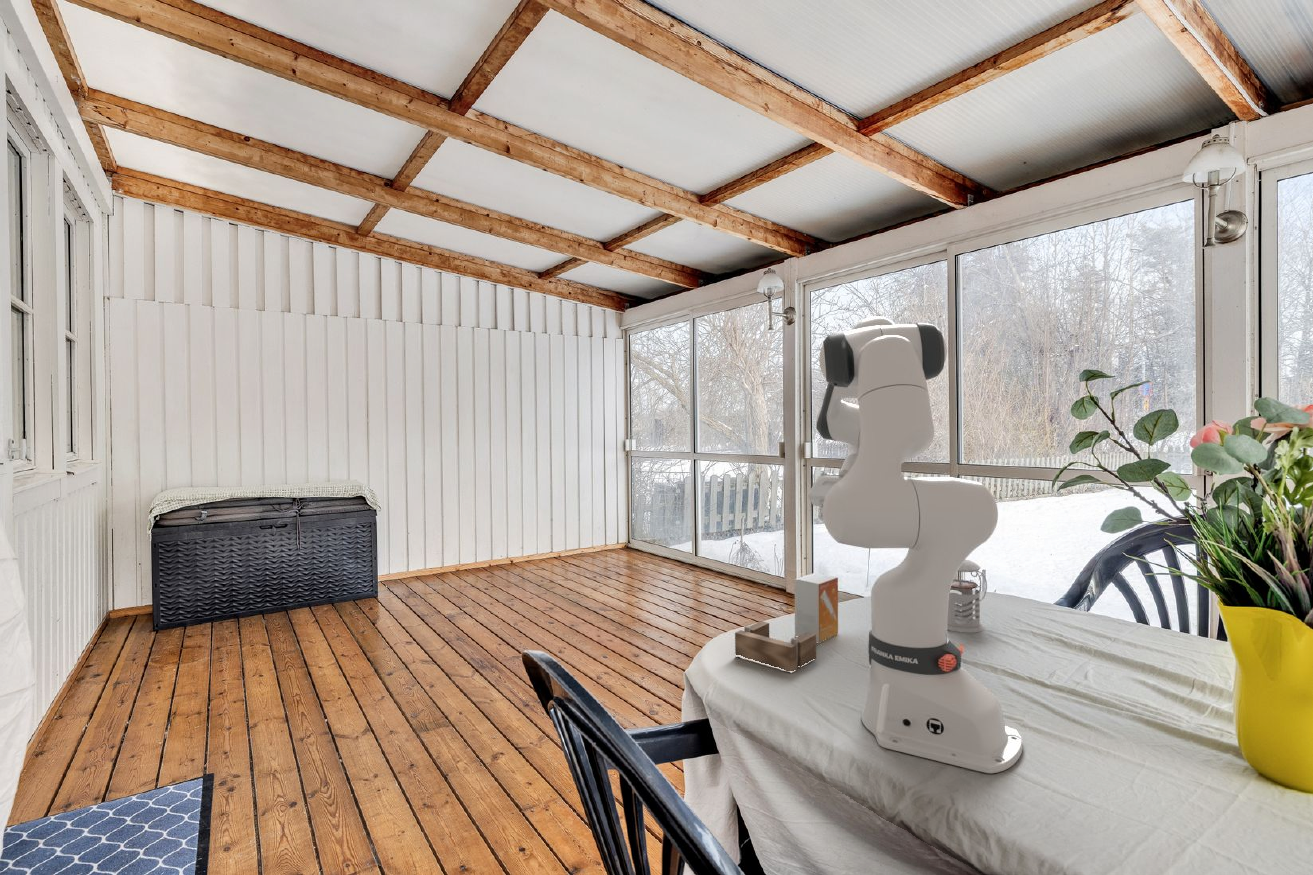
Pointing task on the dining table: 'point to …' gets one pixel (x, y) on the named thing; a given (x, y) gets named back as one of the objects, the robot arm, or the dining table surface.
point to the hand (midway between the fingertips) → (840, 521)
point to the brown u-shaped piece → (774, 647)
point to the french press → (965, 602)
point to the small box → (816, 606)
